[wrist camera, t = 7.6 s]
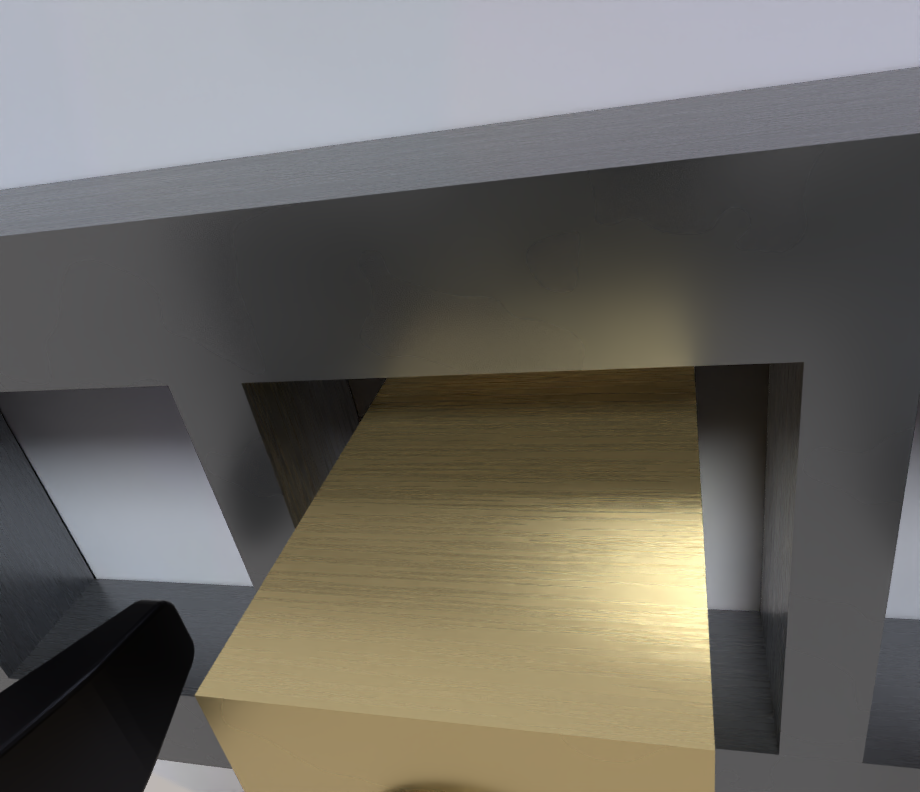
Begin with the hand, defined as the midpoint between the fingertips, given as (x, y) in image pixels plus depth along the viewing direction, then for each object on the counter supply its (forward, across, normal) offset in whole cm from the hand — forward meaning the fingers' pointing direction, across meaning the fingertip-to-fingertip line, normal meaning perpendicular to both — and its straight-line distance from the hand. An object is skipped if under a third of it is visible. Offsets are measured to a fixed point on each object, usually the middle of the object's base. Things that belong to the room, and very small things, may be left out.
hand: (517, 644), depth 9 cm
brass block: (+4, 0, 0) cm, 4 cm away
